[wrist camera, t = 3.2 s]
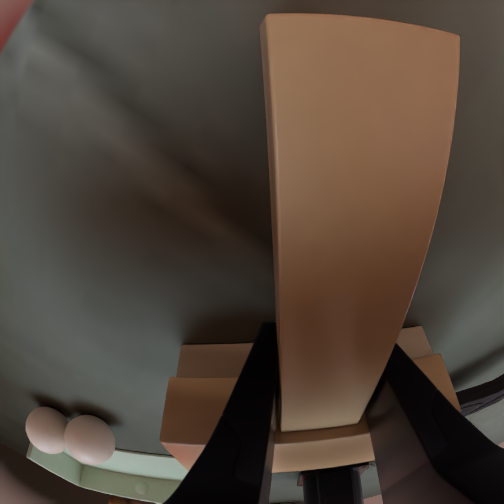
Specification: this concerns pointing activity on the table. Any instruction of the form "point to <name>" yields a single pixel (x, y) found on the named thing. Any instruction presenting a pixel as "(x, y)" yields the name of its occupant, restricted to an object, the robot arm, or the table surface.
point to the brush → (337, 231)
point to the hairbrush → (481, 396)
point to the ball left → (47, 430)
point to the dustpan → (118, 473)
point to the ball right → (89, 439)
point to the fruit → (122, 500)
